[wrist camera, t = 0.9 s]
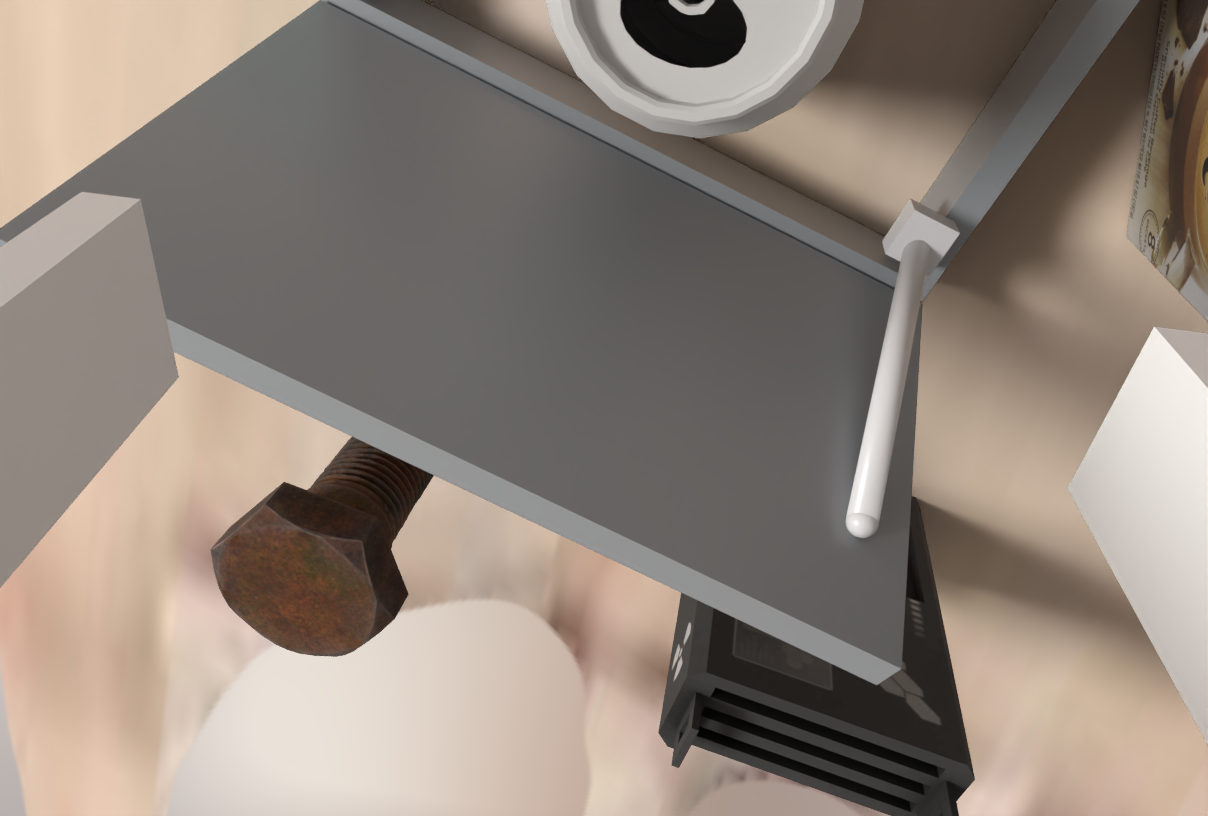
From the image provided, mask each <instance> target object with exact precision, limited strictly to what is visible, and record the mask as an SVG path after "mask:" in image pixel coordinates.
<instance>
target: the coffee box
mask: <svg viewBox="0 0 1208 816" xmlns="http://www.w3.org/2000/svg"><path fill="white" fill-rule="evenodd" d="M1126 236H1127V238H1128V239H1129V240H1130V241H1131V242H1132V243H1133V244H1134V245H1135V246H1136V247H1137V249H1138V250H1139V251H1140V252H1141V253H1142V254H1143V255H1144V256H1145V257H1146V258H1147V259H1148V260H1149V261H1150V262H1151V263H1152V264H1153V265H1154V266H1155V268H1157V269H1158V270H1159V271H1160V273H1161V274H1163V275H1164V277H1165V278H1166V279H1167V280H1168V281H1169V282H1170V283H1171V284H1172V285H1173V286H1174V287H1175V288H1176V289H1177V290H1178V291H1179V293H1180V294H1181V295H1182V296H1183V297H1184V298H1185V299H1186V300H1187V301H1188V302H1189V303H1190V304H1191V305H1192V306H1193V307H1194V308H1195V309H1196V310H1197V311H1198V312H1199V313H1200V314H1201V315H1202V316H1203V317H1204V318H1205V319H1206V321H1207V322H1208V0H1163V3H1162V10H1161V16H1160V22H1159V29H1158V35H1157V41H1156V48H1155V55H1154V61H1153V68H1152V75H1151V81H1150V87H1149V94H1148V100H1147V106H1146V113H1145V119H1144V126H1143V132H1142V138H1141V144H1140V150H1139V157H1138V163H1137V169H1136V176H1135V182H1134V188H1133V195H1132V201H1131V207H1130V214H1129V220H1128V227H1127V235H1126Z"/></svg>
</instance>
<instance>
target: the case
mask: <svg viewBox="0 0 1208 816" xmlns="http://www.w3.org/2000/svg"><path fill="white" fill-rule="evenodd" d="M1139 1H1140V0H1056V2H1055V3H1054V5H1053V6H1052V8H1051V9H1050V11H1049V12H1048V14H1047V15H1046V17H1045V18H1044V20H1043V21H1042V23H1041V24H1040V26H1039V27H1038V29H1037V30H1036V32H1035V33H1034V35H1033V36H1032V38H1031V39H1030V41H1029V42H1028V43H1027V45H1026V46H1025V48H1024V49H1023V51H1022V52H1021V54H1020V55H1019V57H1018V58H1017V60H1016V61H1015V63H1014V64H1013V66H1012V67H1011V69H1010V70H1009V72H1008V73H1007V75H1006V76H1005V78H1004V79H1003V81H1002V82H1001V84H1000V85H999V87H998V88H997V90H996V91H995V93H994V94H993V96H992V97H991V98H990V100H989V101H988V103H987V104H986V106H985V107H984V109H983V110H982V112H981V113H980V115H979V116H978V118H977V119H976V121H975V122H974V124H973V125H972V127H971V128H970V130H969V131H968V133H967V134H966V136H965V137H964V139H963V140H962V142H961V143H960V145H959V146H958V148H957V149H956V151H955V152H954V154H953V155H952V156H951V158H950V159H949V161H948V162H947V164H946V165H945V167H944V168H943V170H942V171H941V173H940V174H939V176H938V177H937V179H936V180H935V182H934V183H933V185H932V186H931V188H930V189H929V191H928V192H927V194H926V195H925V197H924V198H923V200H922V201H921V203H918V202H916V201H914V200H912V199H910V200H909V201H908V203H907V204H906V206H905V207H904V209H903V210H902V212H901V213H900V215H899V216H898V218H897V219H896V221H895V222H894V224H893V225H892V227H891V228H890V230H889V231H888V233H887V234H886V236H883V235H881V234H879V233H877V232H875V231H873V230H871V229H869V228H867V227H865V226H863V225H861V224H859V223H857V222H855V221H853V220H851V219H849V218H847V217H846V216H844V215H842V214H840V213H838V212H836V211H834V210H832V209H830V208H828V207H826V206H824V205H822V204H820V203H818V202H816V201H814V200H812V199H810V198H808V197H806V196H804V195H802V194H800V193H798V192H796V191H795V190H793V189H791V188H789V187H787V186H785V185H783V184H781V183H779V182H777V181H775V180H773V179H771V178H769V177H767V176H765V175H763V174H761V173H759V172H757V171H755V170H753V169H751V168H749V167H747V166H745V165H743V164H742V163H740V162H738V161H736V160H734V159H732V158H730V157H728V156H726V155H724V154H722V153H720V152H718V151H716V150H714V149H712V148H710V147H708V146H706V145H704V144H702V143H700V142H698V141H696V140H694V139H692V138H690V137H688V136H681V135H675V134H668V133H662V132H655V131H652V130H650V129H648V128H647V127H645V126H643V125H641V124H639V123H637V122H635V121H633V120H631V119H629V118H627V117H625V116H623V115H621V114H619V113H617V112H615V111H613V110H611V109H610V108H609V107H608V106H607V105H606V104H605V103H604V102H603V101H602V100H601V99H600V98H599V97H598V96H597V95H596V94H595V93H594V92H593V91H592V90H591V89H590V88H589V87H588V86H587V85H586V84H585V83H583V82H581V81H579V80H577V79H575V78H573V77H571V76H569V75H567V74H565V73H563V72H561V71H559V70H557V69H555V68H553V67H551V66H549V65H547V64H545V63H543V62H541V61H539V60H537V59H535V58H533V57H532V56H530V55H528V54H526V53H524V52H522V51H520V50H518V49H516V48H514V47H512V46H510V45H508V44H506V43H504V42H502V41H500V40H498V39H496V38H494V37H492V36H490V35H488V34H486V33H484V32H482V31H481V30H479V29H477V28H475V27H473V26H471V25H469V24H467V23H465V22H463V21H461V20H459V19H457V18H455V17H453V16H451V15H449V14H447V13H445V12H443V11H441V10H439V9H437V8H435V7H433V6H431V5H429V4H428V3H426V2H424V1H422V0H323V1H322V0H320V1H318V2H317V3H316V4H314V5H313V6H311V7H310V8H309V9H307V10H306V11H304V12H303V13H302V14H300V15H299V16H297V17H296V18H295V19H293V20H292V21H290V22H289V23H288V24H286V25H285V26H283V27H282V28H281V29H279V30H278V31H276V32H275V33H274V34H272V35H271V36H269V37H268V38H267V39H265V40H264V41H262V42H261V43H260V44H258V45H257V46H255V47H254V48H252V49H251V50H250V51H248V52H247V53H245V54H244V55H243V56H241V57H240V58H238V59H237V60H236V61H234V62H233V63H231V64H230V65H229V66H227V67H226V68H224V69H223V70H222V71H220V72H219V73H217V74H216V75H215V76H213V77H212V78H210V79H209V80H208V81H206V82H205V83H203V84H202V85H201V86H199V87H198V88H196V89H195V90H194V91H192V92H191V93H189V94H188V95H187V96H185V97H184V98H182V99H181V100H180V101H178V102H177V103H175V104H174V105H173V106H171V107H170V108H168V109H167V110H166V111H164V112H163V113H161V114H160V115H159V116H157V117H156V118H154V119H153V120H152V121H150V122H149V123H147V124H146V125H145V126H143V127H142V128H140V129H139V130H138V131H136V132H135V133H133V134H132V135H131V136H129V137H128V138H126V139H125V140H124V141H122V142H121V143H119V144H118V145H117V146H115V147H114V148H112V149H111V150H109V151H108V152H107V153H105V154H104V155H102V156H101V157H100V158H98V159H97V160H95V161H94V162H93V163H91V164H90V165H88V166H87V167H86V168H84V169H83V170H81V171H80V172H79V173H77V174H76V175H74V176H73V177H72V178H70V179H69V180H67V181H66V182H65V183H63V184H62V185H60V186H59V187H58V188H56V189H55V190H53V191H52V192H51V193H49V194H48V195H46V196H45V197H44V198H42V199H41V200H39V201H38V202H37V203H35V204H34V205H32V206H31V207H30V208H28V209H27V210H25V211H24V212H23V213H21V214H20V215H18V216H17V217H16V218H14V219H13V220H11V221H10V222H9V223H7V224H6V225H4V226H3V227H2V228H0V247H1V246H3V245H4V244H6V243H7V242H9V241H10V240H12V239H13V238H15V237H16V236H17V235H19V234H20V233H22V232H23V231H25V230H26V229H28V228H29V227H31V226H32V225H34V224H35V223H37V222H38V221H39V220H41V219H42V218H44V217H45V216H47V215H48V214H50V213H51V212H53V211H54V210H56V209H57V208H59V207H60V206H61V205H63V204H64V203H66V202H67V201H69V200H70V199H72V198H73V197H75V196H76V195H78V194H79V193H81V192H87V193H95V194H103V195H111V196H119V197H127V198H135V199H141V202H142V207H143V212H144V217H145V221H146V226H147V231H148V235H149V240H150V245H151V249H152V254H153V259H154V264H155V268H156V273H157V278H158V282H159V287H160V292H161V296H162V301H163V306H164V311H165V315H166V320H167V325H168V329H169V334H170V339H171V344H172V348H173V352H175V353H177V354H180V355H182V356H184V357H186V358H188V359H190V360H192V361H194V362H196V363H199V364H201V365H203V366H205V367H207V368H209V369H211V370H213V371H215V372H218V373H220V374H222V375H224V376H226V377H228V378H230V379H232V380H234V381H236V382H239V383H241V384H243V385H245V386H247V387H249V388H251V389H253V390H255V391H258V392H260V393H262V394H264V395H266V396H268V397H270V398H272V399H274V400H277V401H279V402H281V403H283V404H285V405H287V406H289V407H291V408H293V409H296V410H298V411H300V412H302V413H304V414H306V415H308V416H310V417H312V418H314V419H317V420H319V421H321V422H323V423H325V424H327V425H329V426H331V427H333V428H336V429H338V430H340V431H342V432H344V433H346V434H348V435H350V436H352V437H355V438H357V439H359V440H361V441H363V442H365V443H367V444H369V445H371V446H373V447H376V448H378V449H380V450H382V451H384V452H386V453H388V454H390V455H392V456H395V457H397V458H399V459H401V460H403V461H405V462H407V463H409V464H411V465H414V466H416V467H418V468H420V469H422V470H424V471H426V472H428V473H430V474H433V475H435V476H437V477H439V478H441V479H443V480H445V481H447V482H449V483H451V484H454V485H456V486H458V487H460V488H462V489H464V490H466V491H468V492H470V493H473V494H475V495H477V496H479V497H481V498H483V499H485V500H487V501H489V502H492V503H494V504H496V505H498V506H500V507H502V508H504V509H506V510H508V511H510V512H513V513H515V514H517V515H519V516H521V517H523V518H525V519H527V520H529V521H532V522H534V523H536V524H538V525H540V526H542V527H544V528H546V529H548V530H551V531H553V532H555V533H557V534H559V535H561V536H563V537H565V538H567V539H570V540H572V541H574V542H576V543H578V544H580V545H582V546H584V547H586V548H588V549H591V550H593V551H595V552H597V553H599V554H601V555H603V556H605V557H607V558H610V559H612V560H614V561H616V562H618V563H620V564H622V565H624V566H626V567H629V568H631V569H633V570H635V571H637V572H639V573H641V574H643V575H645V576H647V577H650V578H652V579H654V580H656V581H658V582H660V583H662V584H664V585H666V586H669V587H671V588H673V589H675V590H677V591H679V592H681V593H683V594H685V595H688V596H690V597H692V598H694V599H696V600H698V601H700V602H702V603H704V604H707V605H709V606H711V607H713V608H715V609H717V610H719V611H721V612H723V613H725V614H728V615H730V616H732V617H734V618H736V619H738V620H740V621H742V622H744V623H747V624H749V625H751V626H753V627H755V628H757V629H759V630H761V631H763V632H766V633H768V634H770V635H772V636H774V637H776V638H778V639H780V640H782V641H784V642H787V643H789V644H791V645H793V646H795V647H797V648H799V649H801V650H803V651H806V652H808V653H810V654H812V655H814V656H816V657H818V658H820V659H822V660H825V661H827V662H829V663H831V664H833V665H835V666H837V667H839V668H841V669H844V670H846V671H848V672H850V673H852V674H854V675H856V676H858V677H860V678H862V679H865V680H867V681H869V682H871V683H873V684H875V685H878V684H879V683H881V682H882V681H884V680H885V679H887V678H888V677H890V676H891V675H893V674H895V673H896V672H898V671H899V670H901V669H902V651H903V634H904V617H905V599H906V582H907V564H908V547H909V529H910V512H911V495H912V477H913V460H914V442H915V425H916V407H917V390H918V372H919V355H920V338H921V320H922V304H921V303H922V301H923V300H924V298H925V297H926V296H927V294H928V293H929V292H930V290H931V289H932V287H933V286H934V285H935V283H936V282H937V280H938V279H939V278H940V276H941V275H942V274H943V272H944V271H945V269H946V268H947V267H948V265H949V264H950V262H951V261H952V260H953V258H954V257H955V255H956V254H957V253H958V251H959V250H960V249H961V247H962V246H963V244H964V243H965V242H966V240H967V239H968V237H969V236H970V235H971V233H972V232H973V231H974V229H975V228H976V226H977V225H978V224H979V222H980V221H981V219H982V218H983V217H984V215H985V214H986V213H987V211H988V210H989V208H990V207H991V206H992V204H993V203H994V201H995V200H996V199H997V197H998V196H999V195H1000V193H1001V192H1002V190H1003V189H1004V188H1005V186H1006V185H1007V183H1008V182H1009V181H1010V179H1011V178H1012V177H1013V175H1014V174H1015V172H1016V171H1017V170H1018V168H1019V167H1020V165H1021V164H1022V163H1023V161H1024V160H1025V159H1026V157H1027V156H1028V154H1029V153H1030V152H1031V150H1032V149H1033V147H1034V146H1035V145H1036V143H1037V142H1038V141H1039V139H1040V138H1041V136H1042V135H1043V134H1044V132H1045V131H1046V129H1047V128H1048V127H1049V125H1050V124H1051V123H1052V121H1053V120H1054V118H1055V117H1056V116H1057V114H1058V113H1059V111H1060V110H1061V109H1062V107H1063V106H1064V105H1065V103H1066V102H1067V100H1068V99H1069V98H1070V96H1071V95H1072V93H1073V92H1074V91H1075V89H1076V88H1077V87H1078V85H1079V84H1080V82H1081V81H1082V80H1083V78H1084V77H1085V75H1086V74H1087V73H1088V71H1089V70H1090V69H1091V67H1092V66H1093V64H1094V63H1095V62H1096V60H1097V59H1098V57H1099V56H1100V55H1101V53H1102V52H1103V51H1104V49H1105V48H1106V46H1107V45H1108V44H1109V42H1110V41H1111V39H1112V38H1113V37H1114V35H1115V34H1116V33H1117V31H1118V30H1119V28H1120V27H1121V26H1122V24H1123V23H1124V21H1125V20H1126V19H1127V17H1128V16H1129V15H1130V13H1131V12H1132V10H1133V9H1134V8H1135V6H1136V5H1137V3H1138V2H1139Z"/></svg>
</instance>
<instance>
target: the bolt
mask: <svg viewBox="0 0 1208 816" xmlns="http://www.w3.org/2000/svg"><path fill="white" fill-rule="evenodd" d="M433 476H434V475H433V474H430V473H428V472H426V471H424V470H422V469H420V468H418V467H416V466H414V465H411V464H409V463H407V462H405V461H403V460H401V459H399V458H397V457H395V456H392V455H390V454H388V453H386V452H384V451H382V450H380V449H378V448H376V447H373V446H371V445H369V444H367V443H365V442H363V441H361V440H359V439H357V438H355V437H351V438H350V439H349V440H348V442H347V443H346V444H345V445H344V446H343V448H342V449H341V450H340V451H339V453H338V454H337V455H336V456H335V458H334V459H333V460H332V462H331V463H330V464H329V465H328V466H327V467H326V468H325V470H324V472H323V473H322V474H321V475H320V476H319V477H318V479H317V480H316V481H315V482H314V484H313V485H312V486H311V487H310V488H309V489H308V490H304V489H302V488H299V487H296V486H294V485H291V484H288V483H286V482H283V483H282V484H281V485H280V486H279V487H278V488H276V489H275V490H274V491H273V492H272V493H270V494H269V495H268V496H267V497H266V498H264V499H263V500H262V501H261V502H260V503H258V504H257V505H256V506H255V507H254V508H252V509H251V510H250V511H249V512H248V513H246V514H245V515H244V516H243V517H242V518H240V519H239V520H238V521H237V522H236V523H234V524H233V525H232V526H231V527H230V528H229V529H228V530H227V531H226V532H225V534H224V535H223V536H222V537H221V538H220V539H219V540H218V542H217V543H216V544H215V545H214V546H213V547H212V548H211V555H212V562H213V568H214V573H215V576H216V579H217V583H218V586H219V589H220V591H221V593H222V595H223V597H224V599H225V600H226V602H227V604H228V605H229V607H230V608H231V609H232V610H233V611H234V612H235V613H236V614H237V615H238V616H239V617H240V618H242V619H243V620H244V621H245V622H246V623H247V624H248V625H250V626H251V627H252V628H253V629H254V630H256V631H257V632H258V633H260V634H261V635H262V636H264V637H265V638H267V639H268V640H270V641H271V642H273V643H274V644H276V645H278V646H280V647H282V648H285V649H287V650H290V651H294V652H297V653H300V654H307V655H314V656H342V655H346V654H348V653H351V652H353V651H355V650H356V649H357V648H359V647H360V646H362V645H363V644H365V643H366V642H367V641H369V640H370V639H371V638H373V637H374V636H376V635H377V634H378V633H380V632H381V631H382V630H383V629H384V628H385V627H386V626H387V625H388V624H389V623H390V622H392V621H393V620H394V619H395V617H396V615H397V614H398V612H399V610H400V608H401V607H402V605H403V603H404V601H405V599H406V598H407V596H408V592H407V589H406V586H405V584H404V581H403V579H402V576H401V574H400V571H399V569H398V566H397V564H396V561H395V559H394V556H393V554H392V551H391V547H392V543H393V541H394V540H395V538H396V536H397V534H398V532H399V531H400V529H401V528H402V527H403V525H404V523H405V521H406V520H407V517H408V515H409V514H410V512H411V510H412V509H413V507H414V505H415V503H416V502H417V501H418V499H419V498H420V497H421V495H422V494H423V492H424V490H425V489H426V487H427V485H428V484H429V482H430V480H431V479H432V477H433Z"/></svg>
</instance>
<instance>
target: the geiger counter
mask: <svg viewBox="0 0 1208 816" xmlns="http://www.w3.org/2000/svg"><path fill="white" fill-rule="evenodd" d="M659 734H660V736H661V737H662V739H663V740H664V742H665V743H666V745H667V746H668V747H671V748H674V752H673V759H672V766H675V767H678V768H679V767H680V765H681V763H682V761H683V759H684V757H685V756H686V754H687V752H688V750H689V748H690V746H691V745H694V746H697V747H700V748H703V749H705V750H708V751H711V752H714V753H717V754H719V755H722V756H725V757H728V758H731V759H733V760H736V761H739V762H742V763H745V764H747V765H750V766H753V767H756V768H759V769H762V770H764V771H767V772H770V773H773V774H776V775H778V776H781V777H784V778H787V779H790V780H792V781H795V782H798V783H801V784H804V785H806V786H809V787H812V788H815V789H818V790H820V791H823V792H826V793H829V794H832V795H835V796H837V797H840V798H843V799H846V800H849V801H851V802H854V803H857V804H860V805H863V806H865V807H868V808H871V809H874V810H877V811H879V812H882V813H885V814H888V815H891V816H959V814H958V809H957V803H956V801H957V800H958V799H959V797H960V796H961V795H962V794H963V793H964V792H965V790H966V789H967V788H968V787H969V786H970V785H971V783H972V782H973V781H974V780H975V778H974V773H973V768H972V763H971V758H970V753H969V748H968V743H967V738H966V733H965V728H964V723H963V719H962V714H961V709H960V704H959V699H958V694H957V689H956V684H955V679H954V674H953V669H952V664H951V659H950V654H949V649H948V644H947V639H946V634H945V630H944V625H943V620H942V615H941V610H940V605H939V600H938V595H937V590H936V585H935V580H934V575H933V570H932V565H931V560H930V555H929V550H928V546H927V541H926V536H925V531H924V526H923V521H922V516H921V511H920V508H919V505H918V503H917V501H916V499H915V497H912V496H911V512H910V529H909V547H908V564H907V582H906V599H905V617H904V634H903V651H902V669H901V670H899V671H898V672H896V673H895V674H893V675H891V676H890V677H888V678H887V679H885V680H884V681H882V682H881V683H879V684H878V685H875V684H873V683H871V682H869V681H867V680H865V679H862V678H860V677H858V676H856V675H854V674H852V673H850V672H848V671H846V670H844V669H841V668H839V667H837V666H835V665H833V664H831V663H829V662H827V661H825V660H822V659H820V658H818V657H816V656H814V655H812V654H810V653H808V652H806V651H803V650H801V649H799V648H797V647H795V646H793V645H791V644H789V643H787V642H784V641H782V640H780V639H778V638H776V637H774V636H772V635H770V634H768V633H766V632H763V631H761V630H759V629H757V628H755V627H753V626H751V625H749V624H747V623H744V622H742V621H740V620H738V619H736V618H734V617H732V616H730V615H728V614H725V613H723V612H721V611H719V610H717V609H715V608H713V607H711V606H709V605H707V604H704V603H702V602H700V601H698V600H696V599H694V598H692V597H690V596H688V595H685V594H683V593H681V598H680V604H679V610H678V616H677V623H676V629H675V635H674V641H673V647H672V653H671V659H670V666H669V672H668V678H667V684H666V690H665V696H664V702H663V709H662V715H661V721H660V727H659Z"/></svg>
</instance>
